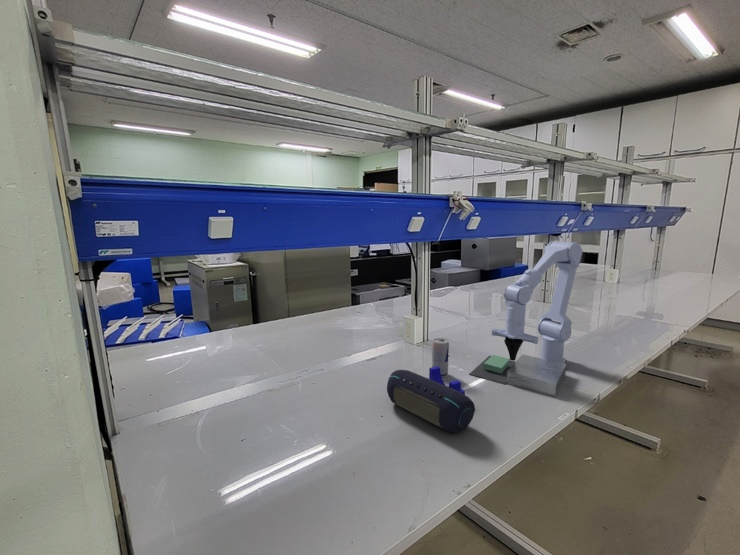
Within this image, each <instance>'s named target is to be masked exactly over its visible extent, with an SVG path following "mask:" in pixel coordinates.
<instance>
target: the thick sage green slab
mask: <svg viewBox="0 0 740 555" xmlns="http://www.w3.org/2000/svg"><path fill="white" fill-rule="evenodd" d="M490 356H491V357H490V358H489V359H488V360H487V361H486V362H485V363H484V369H487V370H490V371H494V372H497V373H502V372H503V371H504V370H505V369H506V368H507V367H508V365H509V364H510V358H507V357H504V356H500V355H496V354H492V355H490Z"/></svg>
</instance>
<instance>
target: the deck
mask: <svg viewBox="0 0 740 555" xmlns="http://www.w3.org/2000/svg"><path fill="white" fill-rule="evenodd" d="M566 372H567V363H565V362H564V363H560V362H555V361H550V360H546V359H541V358H540V357H536V356H531V355H528V354H521V355H520V356H519V358H518V359H517V360H515V363H514V365H513V366H512V367H511V368H510V369H509V370H508V371H507V383H506V384H507V385H511V386H514V387H518V388H522V389H526V390H529V391H533V392H536V393H541V394H543V395H548V396H551V397H556V396H557V393H558V391H559V389H560V388H561V385H562V383H563V381H564V379H565V377H566V375H567V374H566Z"/></svg>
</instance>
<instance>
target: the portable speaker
mask: <svg viewBox="0 0 740 555" xmlns="http://www.w3.org/2000/svg"><path fill="white" fill-rule="evenodd" d="M386 383H387V385H386V392H387V395H388V398H389V400H390V401H391V402H392V404H395V405H397V407H400V408H402V409H403V410H406V411H408V412H410V413H412V414H414V415H416V416H418V417H420V418H422V419H424V420H426V421H428V422H430V423H431V424H433V425H435V426H437V427H439V428H441V429H443V430H445V431H447V432H450V433H460V432H461V433H462V432H463V431H465V429H466V428H468V427H469V425H470V423H471V422H472V420H473V418H474V416H475V415H474V414H475V411H476V407H475V406H476V405H475V403H474V402H473V400H472V399H471V398H470V397H469V396H467V395H466V394H465V395H464V394H463V393H462V392H460V391H457V390H455V389H453V388H450V387H449V385H446V384H445V385H446V386H445V385H443V384H440V383H438V382H435V381H433V380H430V379H429V377H425V376H423V375H421V374H417V373H416V372H413V371H410V370H407V369H397V370H394V371H393V372H391V374H390V375H389V377H388V381H387V382H386Z"/></svg>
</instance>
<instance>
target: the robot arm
mask: <svg viewBox="0 0 740 555" xmlns="http://www.w3.org/2000/svg"><path fill="white" fill-rule="evenodd" d="M582 255H583V248H582V247H581V244H580V243H579V242H577V241H576V242H575V241H573V242H572V241H571V242H569V241H568V242H567V241H555V240H551V241H549V242H548V244H547V245H546V246H545V247H544V254H543V255H542V256H541V257H540V259H539V260H538V262H537V263H536V264H535V265H534V266H533V268H532V269H531V268H529V269H526V270H525V271H524V272H523V274H522V275H521V276H520V277H519V279H517V280H516V281H515V283H514V284H510V285H509V286H507V287H506V288H505V289H504V292H503V298H504V300H505V305H506V315H505V316H506V319H505V329H498V328H493V329H492V330H491V336H493V337H496V336H497V337H502V338H504V340H503V341H504V344H505V345H506V348H507V351H508V355H509V359H510V360H511V361H516V359H517V355H518V352H519V350H520V348H521V346H522V344H523V342H528V343H533V344H534V345H538V343H539V338H541V346H540V347H541V348H540V349H541V350H540V357H539V358H541V359H546V360H550V361H555V362H560V363H564V364H565V362H566V360H567V359H566V358H565V357H564V351H565V342H567V341H568V340H569V339H570V338H571V335H572V323H573V321H572V319H570V318H569V317H568V316H567V309H568V306H569V301H570V297H571V293H572V290H573V289H572V288H573V286H574V285H573V284H574V282H575V276H576V273H577V268H579V267H580V263H581V260H582ZM553 265H556V266H557V267H558V273H557V278H556V281H555V286H554V290H553V294H552V299H551V301H550V307H549V310H548V311H546V312H545V313H543V314H541V318H540V320H539V322H538V323H537V332H538V333H539V334H540V337H539V336H534V335H532V334H527V333H525V324H526V310H527V304H528V303H529V302H530V300H531V298H532V295H533V293H534V290H535V289H536V288H537V286H538V285H539V284H540V283H541V282H542V281H543V277H542V276H543V275H544V274H545V273H546V272H547V271H548V270H550V268H551V267H553Z"/></svg>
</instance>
